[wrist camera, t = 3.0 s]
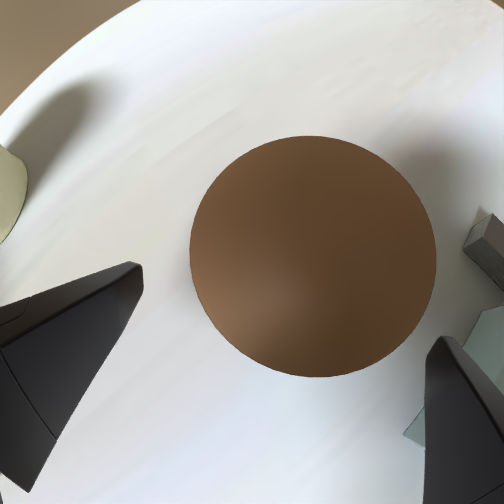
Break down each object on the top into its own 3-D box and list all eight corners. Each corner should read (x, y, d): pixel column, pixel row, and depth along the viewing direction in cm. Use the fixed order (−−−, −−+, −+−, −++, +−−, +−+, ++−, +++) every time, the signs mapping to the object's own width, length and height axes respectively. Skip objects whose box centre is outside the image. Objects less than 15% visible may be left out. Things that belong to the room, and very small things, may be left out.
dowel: (319, 350, 16) (447, 359, 4) (251, 353, 16) (188, 379, 4) (316, 284, 17) (409, 139, 5) (249, 287, 17) (196, 141, 5)
